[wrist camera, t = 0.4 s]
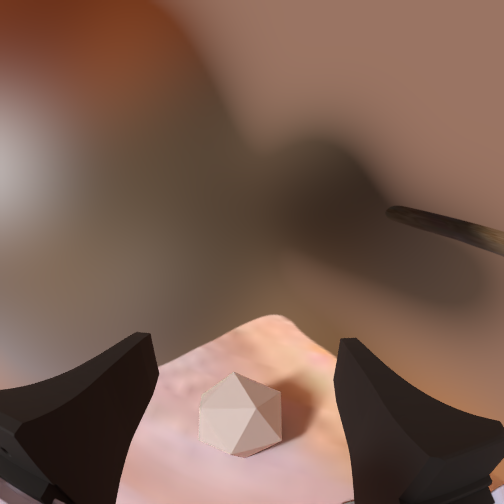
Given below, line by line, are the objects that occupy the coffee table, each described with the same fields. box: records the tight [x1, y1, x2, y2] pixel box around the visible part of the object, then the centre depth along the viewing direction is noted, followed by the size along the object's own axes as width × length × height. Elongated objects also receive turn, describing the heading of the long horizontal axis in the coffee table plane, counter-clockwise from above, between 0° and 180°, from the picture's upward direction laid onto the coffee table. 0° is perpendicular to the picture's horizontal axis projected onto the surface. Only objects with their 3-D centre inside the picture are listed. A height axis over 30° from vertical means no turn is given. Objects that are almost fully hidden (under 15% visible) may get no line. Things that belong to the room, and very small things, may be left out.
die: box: [198, 372, 282, 458], centre depth 26 cm, size 8×9×10 cm
